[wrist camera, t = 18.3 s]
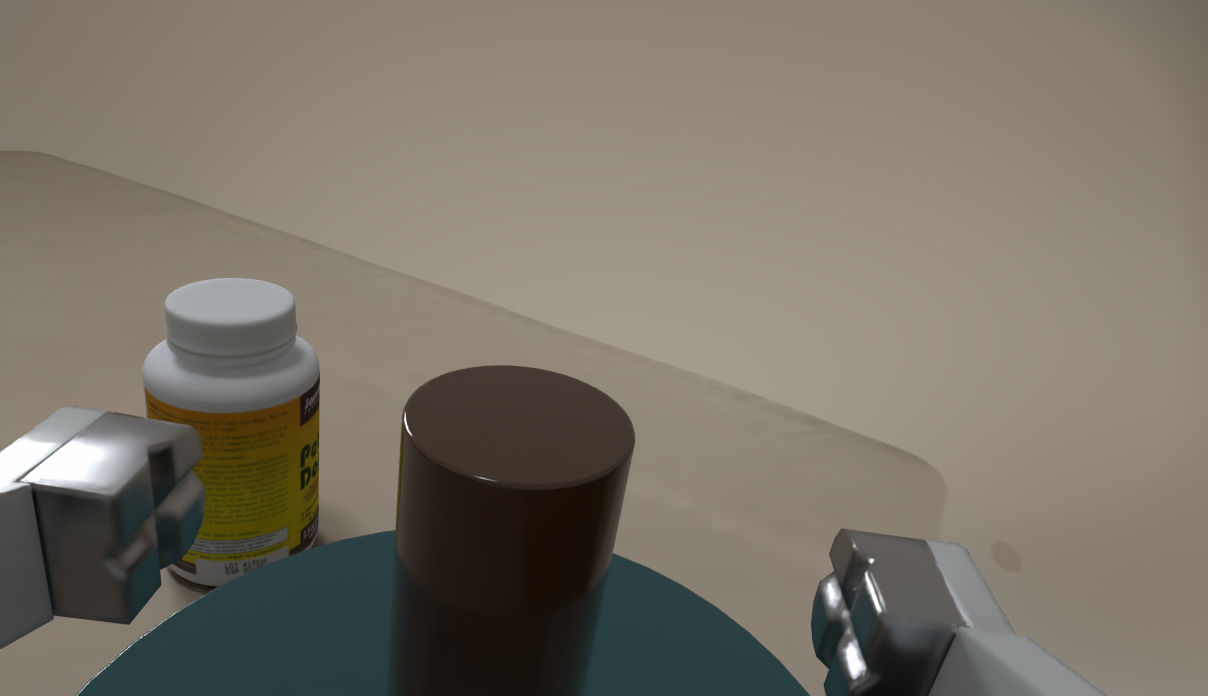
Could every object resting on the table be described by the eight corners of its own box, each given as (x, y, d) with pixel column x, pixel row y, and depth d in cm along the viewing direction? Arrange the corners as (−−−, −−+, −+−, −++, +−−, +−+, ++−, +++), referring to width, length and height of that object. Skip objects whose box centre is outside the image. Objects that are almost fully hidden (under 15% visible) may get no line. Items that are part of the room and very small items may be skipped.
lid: (1127, 1418, 9) (1650, 1001, 6) (-512, 1895, 6) (-1787, 1624, 2) (728, 560, 22) (809, 266, 18) (141, 558, 19) (102, 201, 15)
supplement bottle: (325, 582, 30) (328, 332, 25) (154, 606, 28) (125, 337, 23) (312, 493, 34) (313, 268, 30) (165, 508, 32) (142, 267, 28)
